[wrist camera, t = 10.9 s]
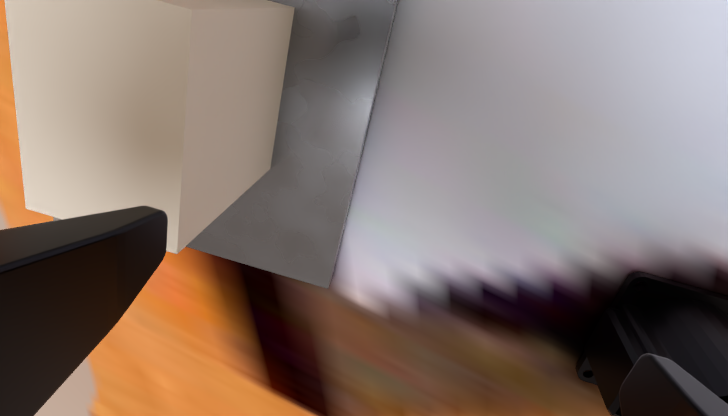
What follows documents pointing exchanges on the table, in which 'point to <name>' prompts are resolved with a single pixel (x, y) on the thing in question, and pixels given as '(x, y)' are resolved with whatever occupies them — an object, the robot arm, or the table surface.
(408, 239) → the table surface
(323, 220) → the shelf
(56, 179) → the tea box
